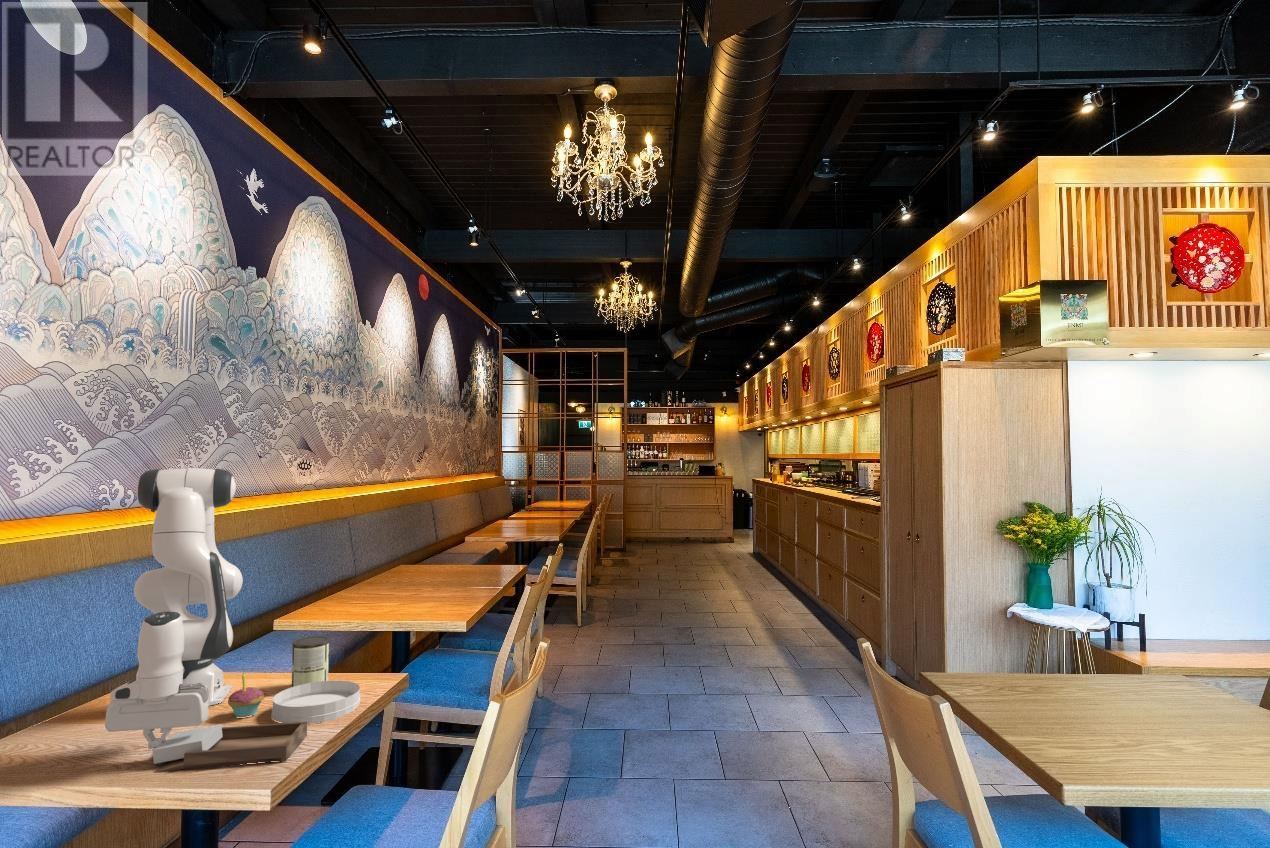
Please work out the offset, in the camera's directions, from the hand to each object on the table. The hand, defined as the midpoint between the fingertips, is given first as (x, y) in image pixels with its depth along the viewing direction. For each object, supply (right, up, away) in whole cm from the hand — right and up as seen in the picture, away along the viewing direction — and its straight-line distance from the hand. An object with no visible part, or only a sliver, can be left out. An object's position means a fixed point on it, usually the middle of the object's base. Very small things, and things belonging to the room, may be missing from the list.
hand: (156, 747), depth 151 cm
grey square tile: (+7, -2, +1) cm, 7 cm away
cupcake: (+4, -5, +27) cm, 28 cm away
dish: (+22, -5, +30) cm, 38 cm away
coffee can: (+10, -7, +50) cm, 52 cm away
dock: (+17, -3, +3) cm, 17 cm away
